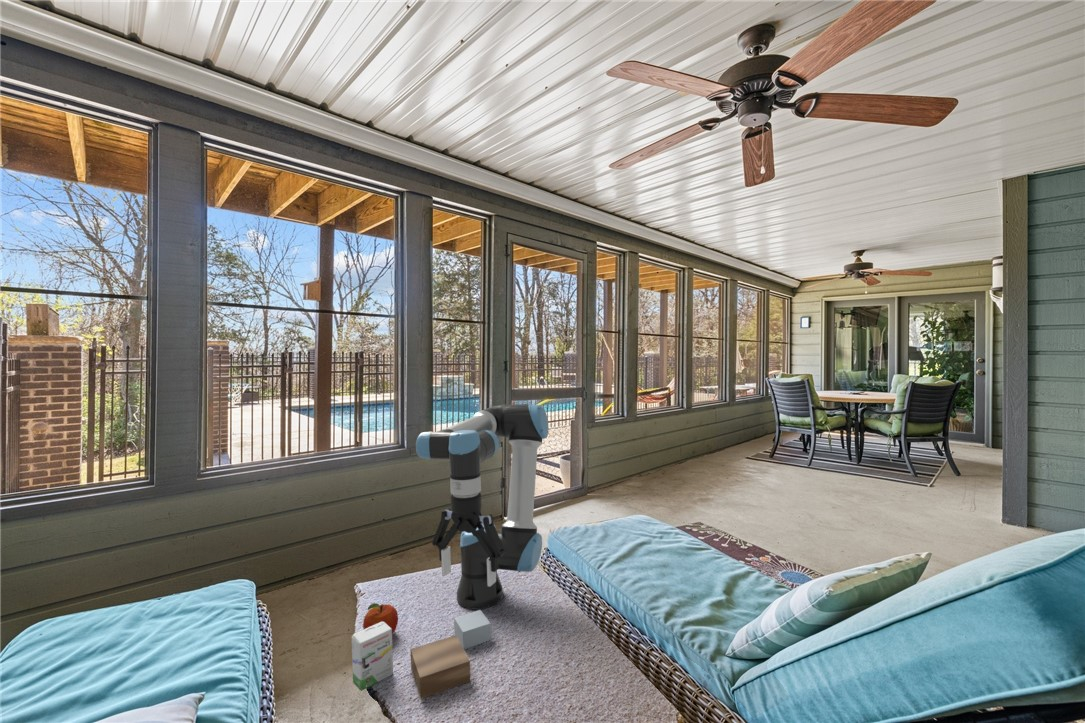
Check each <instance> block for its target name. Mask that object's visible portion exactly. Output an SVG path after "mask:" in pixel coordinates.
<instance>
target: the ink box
mask: <svg viewBox="0 0 1085 723" xmlns="http://www.w3.org/2000/svg"><path fill="white" fill-rule="evenodd" d="M393 652H394V651H393V634H392V628H390V627H389V626H388V625H387V624H386V623H385V622H380V623H377V624H375V625H373V626H371V627H368V628H366V629H362V630H359V631H357V632H355V633H353V634H352V635H351V657H352V658H351V660H352V662H351V663H352V664H351V665H352V683H353V685H355V687H357V689H358V690H359V691H360V692H362V691H364V690H366V689H368V688H370V687H371V686H373V685H375V684H377V683H379V682H381V681H382V680H384V679H386V678H388V677H390V676H392V675H393V674H394V658H393ZM366 685H367V687H366Z"/></svg>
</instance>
